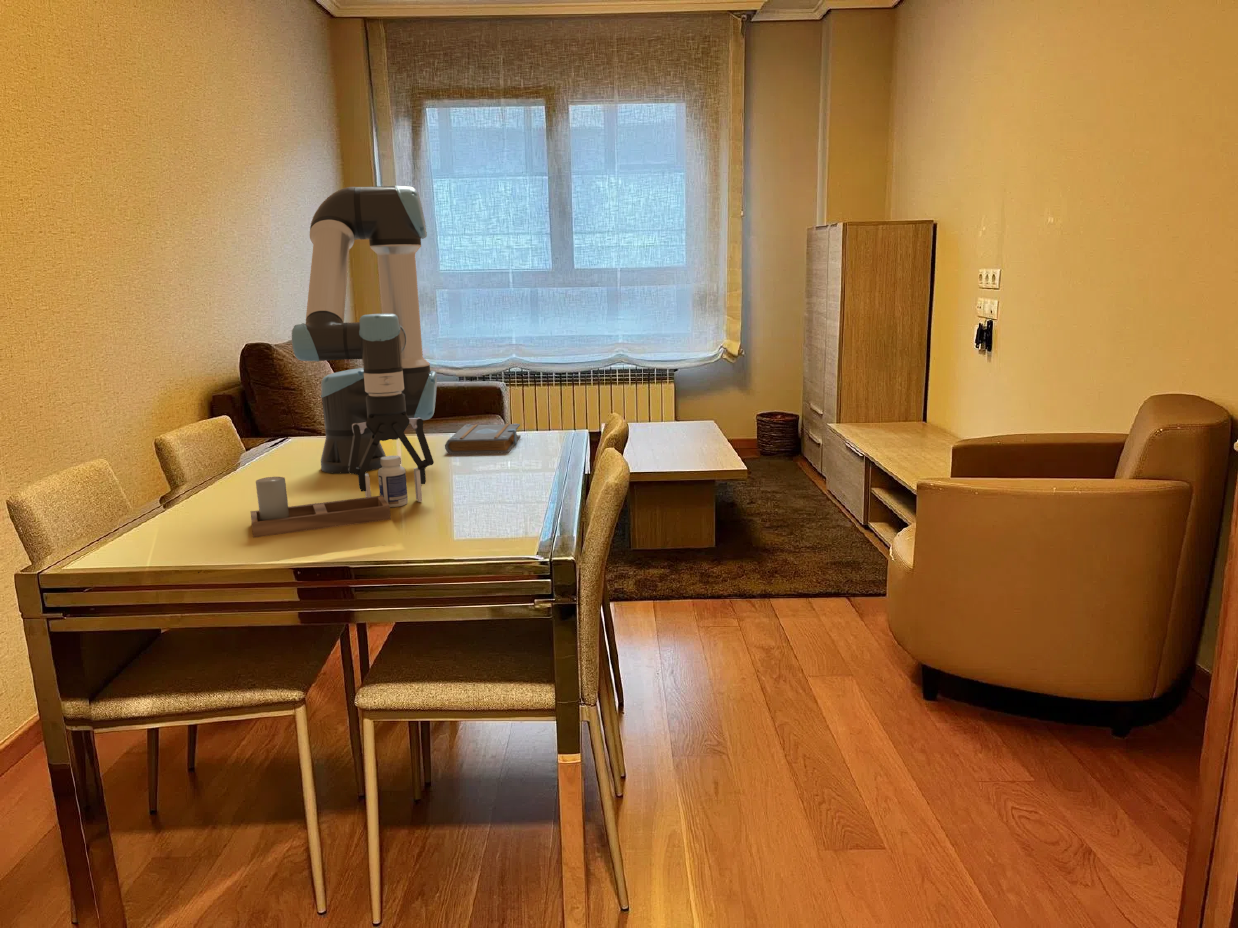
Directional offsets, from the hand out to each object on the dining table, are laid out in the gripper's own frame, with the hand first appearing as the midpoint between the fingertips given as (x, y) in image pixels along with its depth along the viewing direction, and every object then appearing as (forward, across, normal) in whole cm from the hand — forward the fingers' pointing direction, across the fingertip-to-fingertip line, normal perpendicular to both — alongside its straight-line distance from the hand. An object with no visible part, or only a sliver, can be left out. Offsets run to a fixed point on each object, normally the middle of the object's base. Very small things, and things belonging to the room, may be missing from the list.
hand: (394, 503), depth 186 cm
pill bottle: (0, 0, 0) cm, 0 cm away
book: (+1, +32, +50) cm, 59 cm away
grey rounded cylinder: (-1, -23, -10) cm, 25 cm away
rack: (0, -15, -10) cm, 18 cm away
